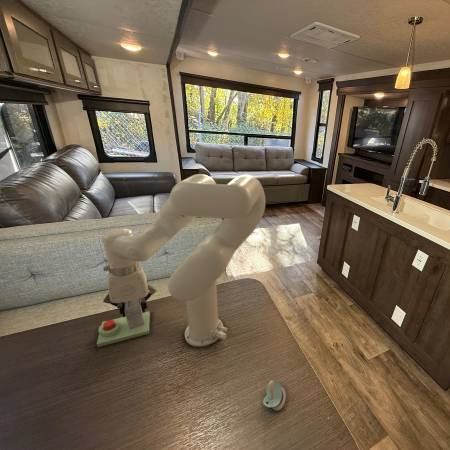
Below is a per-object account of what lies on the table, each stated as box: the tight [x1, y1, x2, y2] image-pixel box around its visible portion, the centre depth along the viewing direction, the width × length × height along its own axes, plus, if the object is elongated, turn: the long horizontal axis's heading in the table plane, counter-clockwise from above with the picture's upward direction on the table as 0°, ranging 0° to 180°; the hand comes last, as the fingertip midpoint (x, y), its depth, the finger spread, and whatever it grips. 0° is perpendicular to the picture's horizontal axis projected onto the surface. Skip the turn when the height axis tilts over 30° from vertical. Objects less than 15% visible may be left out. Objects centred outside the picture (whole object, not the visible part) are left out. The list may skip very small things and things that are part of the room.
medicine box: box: [124, 299, 145, 330], centre depth 84 cm, size 8×4×9 cm, turn 33°
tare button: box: [103, 319, 115, 331], centre depth 82 cm, size 3×3×2 cm
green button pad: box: [96, 311, 151, 348], centre depth 84 cm, size 14×10×3 cm
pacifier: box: [262, 379, 287, 411], centre depth 67 cm, size 7×6×6 cm
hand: (134, 311), depth 84 cm, fingers closed on medicine box, 4 cm apart
